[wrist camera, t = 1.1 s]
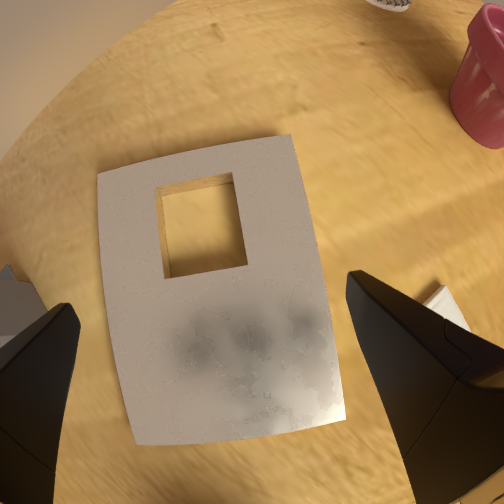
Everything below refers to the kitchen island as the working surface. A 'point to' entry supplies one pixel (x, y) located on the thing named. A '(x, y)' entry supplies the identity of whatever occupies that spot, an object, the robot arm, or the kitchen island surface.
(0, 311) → the block
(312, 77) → the kitchen island surface
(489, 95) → the plant pot
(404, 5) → the decorative candle
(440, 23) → the kitchen island surface
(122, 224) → the plate
